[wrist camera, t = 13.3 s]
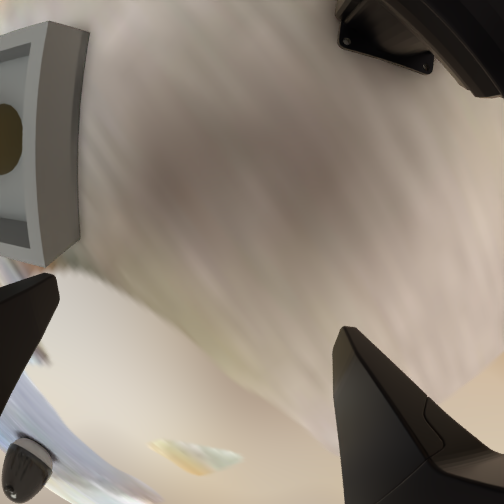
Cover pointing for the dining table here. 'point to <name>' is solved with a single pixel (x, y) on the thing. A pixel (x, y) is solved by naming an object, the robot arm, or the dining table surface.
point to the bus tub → (42, 140)
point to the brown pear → (10, 138)
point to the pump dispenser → (25, 470)
